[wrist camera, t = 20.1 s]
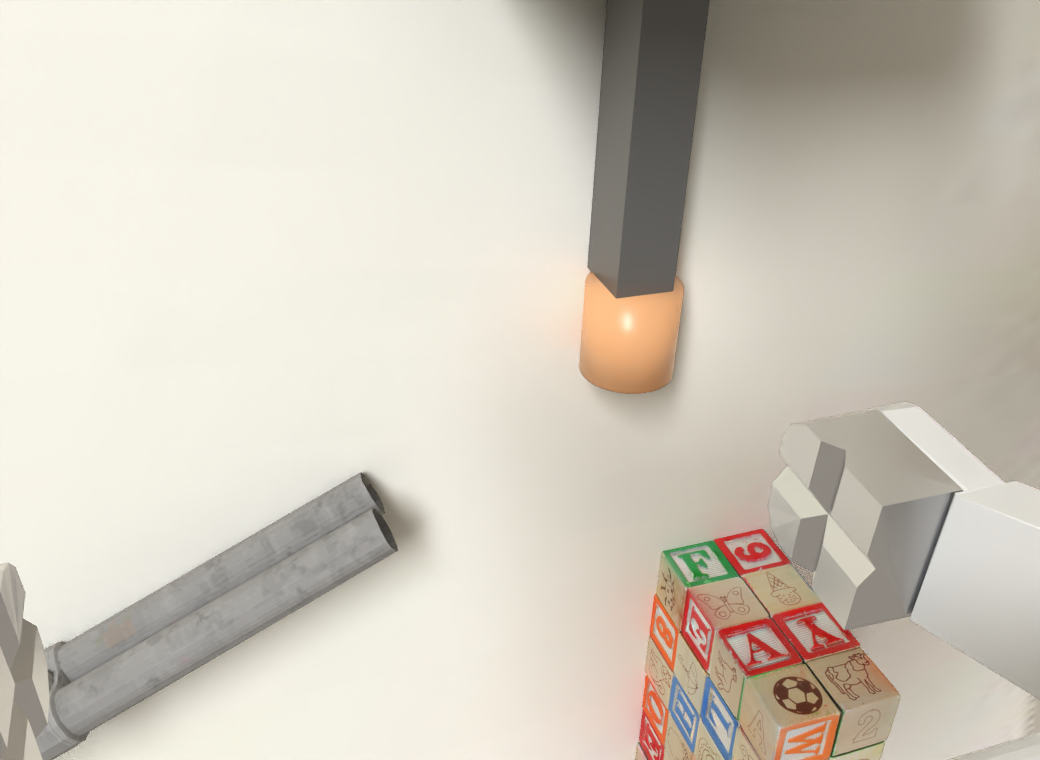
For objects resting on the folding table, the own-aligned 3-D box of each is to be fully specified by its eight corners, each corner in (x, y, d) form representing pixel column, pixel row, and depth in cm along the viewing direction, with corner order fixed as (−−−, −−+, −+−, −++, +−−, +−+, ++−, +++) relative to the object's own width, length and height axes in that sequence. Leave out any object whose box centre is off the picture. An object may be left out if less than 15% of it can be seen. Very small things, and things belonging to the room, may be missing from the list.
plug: (593, -86, 34) (642, -70, 31) (697, -87, 36) (754, -72, 32) (565, 352, 44) (600, 399, 40) (648, 340, 45) (689, 385, 42)
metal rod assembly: (352, 455, 43) (375, 527, 39) (382, 495, 45) (407, 568, 41) (-175, 760, 42) (-206, 866, 38) (-124, 790, 44) (-149, 894, 40)
